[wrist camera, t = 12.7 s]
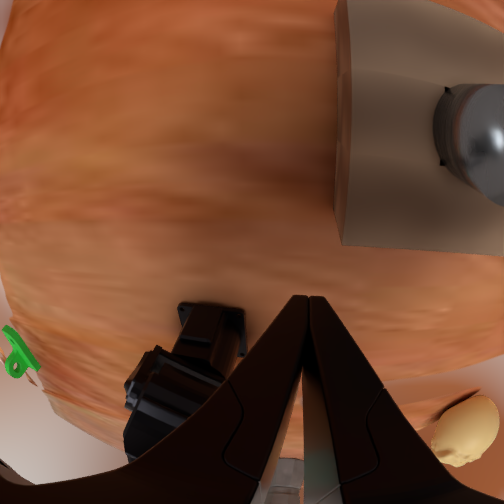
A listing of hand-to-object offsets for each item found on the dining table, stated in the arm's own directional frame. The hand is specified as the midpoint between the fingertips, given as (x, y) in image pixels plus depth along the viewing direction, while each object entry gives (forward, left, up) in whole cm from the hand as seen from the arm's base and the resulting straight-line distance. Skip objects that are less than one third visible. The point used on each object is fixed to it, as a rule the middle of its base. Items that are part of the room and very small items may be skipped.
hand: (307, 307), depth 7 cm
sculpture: (-33, -30, -13) cm, 47 cm away
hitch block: (+5, -9, -13) cm, 17 cm away
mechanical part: (-35, +60, -14) cm, 71 cm away
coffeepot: (-59, -2, -13) cm, 61 cm away
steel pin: (+5, -9, -12) cm, 16 cm away
